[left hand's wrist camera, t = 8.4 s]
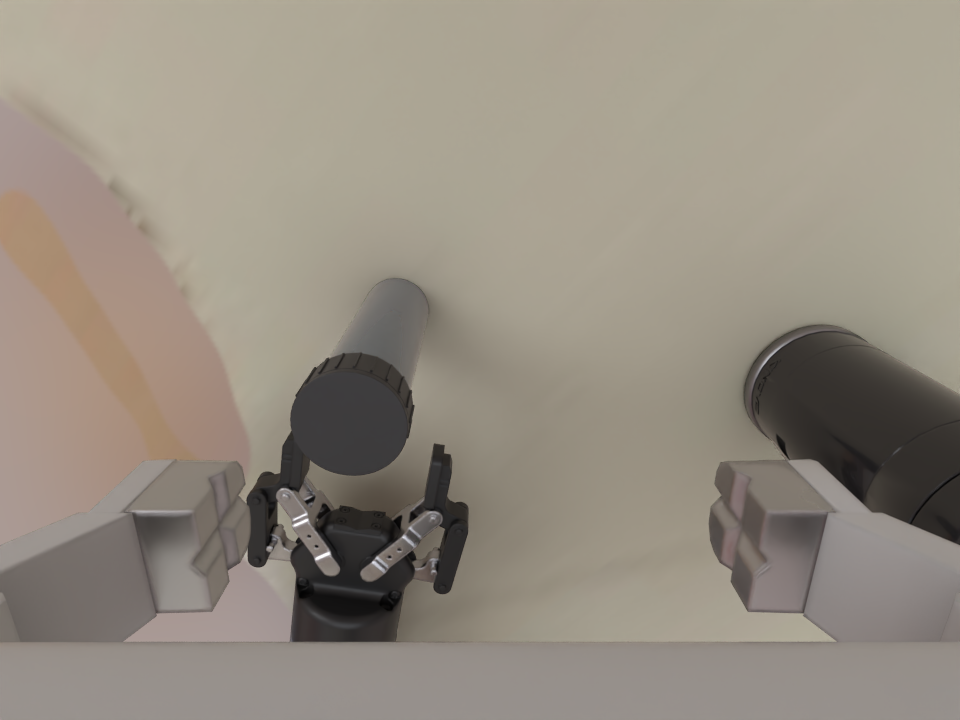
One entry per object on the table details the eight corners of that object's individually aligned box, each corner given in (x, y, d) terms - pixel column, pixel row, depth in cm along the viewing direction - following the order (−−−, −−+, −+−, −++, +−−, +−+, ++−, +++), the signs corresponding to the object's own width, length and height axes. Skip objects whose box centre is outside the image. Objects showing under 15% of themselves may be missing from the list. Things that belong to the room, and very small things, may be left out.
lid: (302, 344, 26) (288, 363, 24) (418, 356, 27) (414, 376, 25) (302, 445, 28) (288, 471, 26) (410, 455, 28) (405, 482, 26)
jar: (366, 274, 40) (300, 369, 25) (431, 281, 41) (405, 379, 25) (363, 335, 42) (299, 459, 26) (426, 342, 42) (398, 469, 27)
